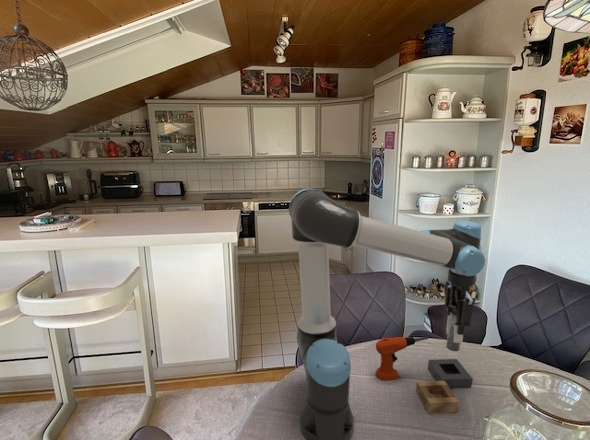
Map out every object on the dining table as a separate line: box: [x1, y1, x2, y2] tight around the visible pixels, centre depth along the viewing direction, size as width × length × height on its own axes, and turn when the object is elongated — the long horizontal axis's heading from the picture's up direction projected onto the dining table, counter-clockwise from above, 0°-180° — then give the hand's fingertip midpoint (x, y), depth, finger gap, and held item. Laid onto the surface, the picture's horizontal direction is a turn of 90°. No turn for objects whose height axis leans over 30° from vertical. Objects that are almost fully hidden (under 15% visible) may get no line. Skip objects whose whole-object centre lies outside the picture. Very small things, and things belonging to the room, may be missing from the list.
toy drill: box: [375, 336, 429, 381], centre depth 114 cm, size 5×19×15 cm, turn 97°
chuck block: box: [427, 358, 474, 390], centre depth 114 cm, size 10×10×4 cm
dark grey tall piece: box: [445, 303, 461, 352], centre depth 110 cm, size 7×5×15 cm, turn 93°
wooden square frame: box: [415, 380, 460, 414], centre depth 104 cm, size 9×9×4 cm
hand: (453, 337), depth 111 cm, fingers closed on dark grey tall piece, 4 cm apart
